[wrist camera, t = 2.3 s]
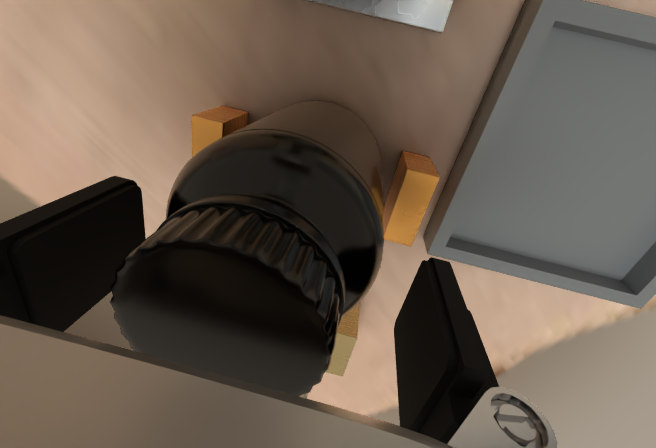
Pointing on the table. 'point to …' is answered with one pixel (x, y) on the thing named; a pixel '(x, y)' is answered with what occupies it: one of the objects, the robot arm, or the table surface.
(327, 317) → the supplement bottle
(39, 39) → the table surface
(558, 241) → the tray
